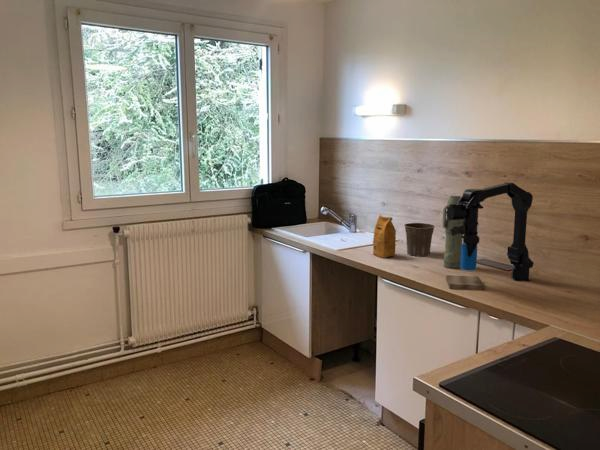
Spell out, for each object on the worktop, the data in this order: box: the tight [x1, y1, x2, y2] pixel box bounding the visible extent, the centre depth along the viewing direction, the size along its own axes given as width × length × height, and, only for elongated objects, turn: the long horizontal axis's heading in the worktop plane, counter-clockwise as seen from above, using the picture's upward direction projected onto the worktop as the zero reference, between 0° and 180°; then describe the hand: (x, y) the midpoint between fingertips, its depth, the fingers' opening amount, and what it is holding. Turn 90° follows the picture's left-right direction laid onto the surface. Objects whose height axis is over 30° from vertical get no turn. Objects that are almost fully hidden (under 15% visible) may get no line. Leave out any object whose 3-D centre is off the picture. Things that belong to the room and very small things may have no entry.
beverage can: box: [460, 241, 478, 273], centre depth 215 cm, size 6×6×12 cm
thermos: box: [442, 195, 464, 270], centre depth 245 cm, size 9×12×35 cm
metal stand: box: [445, 274, 485, 291], centre depth 217 cm, size 14×14×2 cm
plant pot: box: [404, 222, 436, 257], centre depth 274 cm, size 16×16×16 cm
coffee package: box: [372, 214, 397, 259], centre depth 271 cm, size 10×12×22 cm
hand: (468, 254), depth 215 cm, fingers closed on beverage can, 6 cm apart
